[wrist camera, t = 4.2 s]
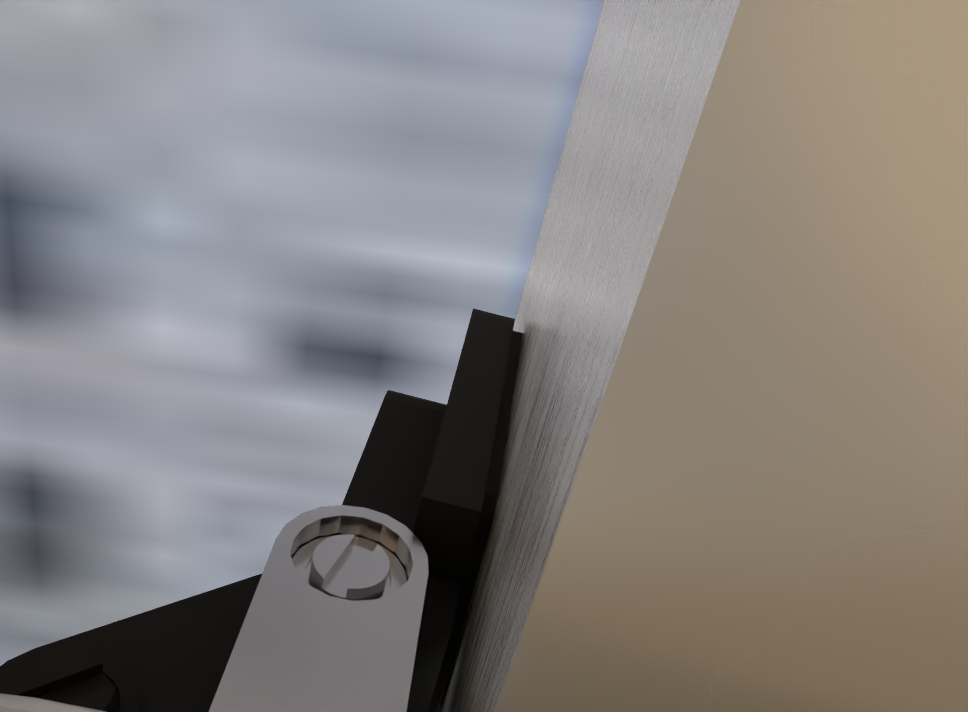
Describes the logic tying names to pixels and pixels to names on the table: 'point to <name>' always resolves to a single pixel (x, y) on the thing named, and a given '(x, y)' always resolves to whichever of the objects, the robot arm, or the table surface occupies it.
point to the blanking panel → (741, 376)
